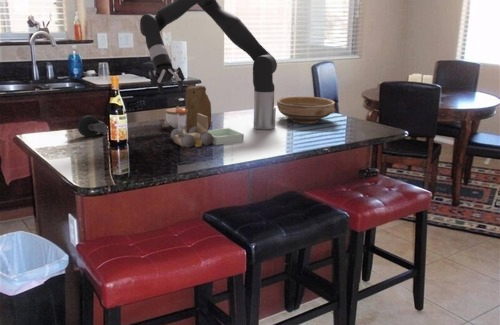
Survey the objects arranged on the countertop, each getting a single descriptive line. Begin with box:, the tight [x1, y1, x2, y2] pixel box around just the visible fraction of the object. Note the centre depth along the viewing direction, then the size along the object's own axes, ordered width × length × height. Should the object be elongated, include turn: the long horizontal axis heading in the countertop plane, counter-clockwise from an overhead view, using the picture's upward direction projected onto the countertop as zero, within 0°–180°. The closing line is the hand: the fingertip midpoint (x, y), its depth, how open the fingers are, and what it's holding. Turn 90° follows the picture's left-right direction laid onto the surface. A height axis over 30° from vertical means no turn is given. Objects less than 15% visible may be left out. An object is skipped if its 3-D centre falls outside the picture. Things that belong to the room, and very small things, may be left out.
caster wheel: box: [77, 114, 109, 138], centre depth 216 cm, size 6×10×15 cm
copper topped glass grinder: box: [176, 109, 188, 138], centre depth 204 cm, size 5×5×11 cm
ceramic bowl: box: [276, 95, 336, 124], centre depth 252 cm, size 37×29×10 cm
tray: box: [208, 127, 245, 146], centre depth 213 cm, size 13×13×3 cm
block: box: [184, 85, 212, 131], centre depth 227 cm, size 11×8×20 cm
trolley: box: [170, 113, 213, 148], centre depth 206 cm, size 13×14×11 cm
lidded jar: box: [165, 105, 185, 129], centre depth 236 cm, size 11×11×9 cm
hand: (172, 91), depth 209 cm, fingers open, 8 cm apart
